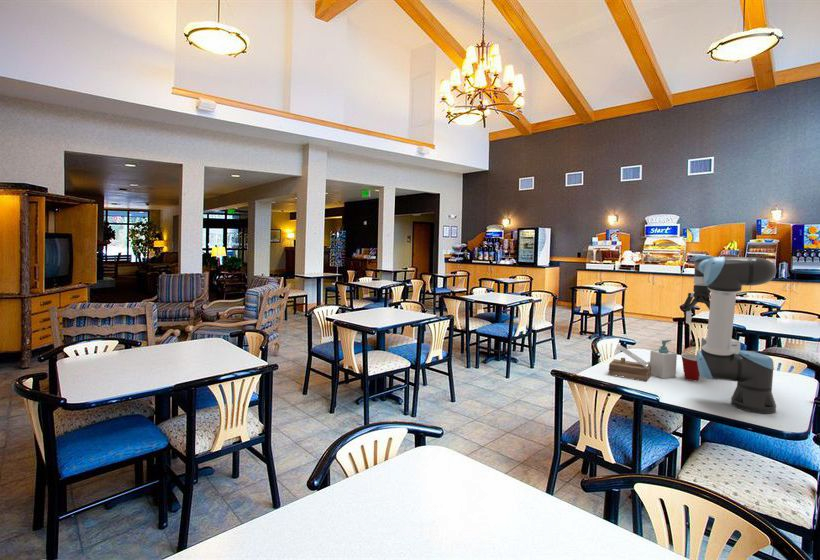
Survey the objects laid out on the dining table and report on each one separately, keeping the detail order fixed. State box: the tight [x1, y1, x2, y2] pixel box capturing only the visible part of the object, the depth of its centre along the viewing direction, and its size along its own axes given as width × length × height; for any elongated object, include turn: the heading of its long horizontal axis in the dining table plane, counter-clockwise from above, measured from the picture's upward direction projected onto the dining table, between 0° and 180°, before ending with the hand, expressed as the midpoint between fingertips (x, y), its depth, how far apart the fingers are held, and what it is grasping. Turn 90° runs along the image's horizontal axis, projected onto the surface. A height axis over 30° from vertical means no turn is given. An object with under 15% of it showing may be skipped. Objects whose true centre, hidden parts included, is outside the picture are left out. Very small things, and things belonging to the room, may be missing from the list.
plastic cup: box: [680, 353, 701, 381], centre depth 223 cm, size 11×11×12 cm
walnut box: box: [608, 357, 652, 382], centre depth 230 cm, size 12×18×9 cm
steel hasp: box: [617, 344, 649, 366], centre depth 229 cm, size 6×17×1 cm
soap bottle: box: [649, 339, 678, 379], centre depth 229 cm, size 9×9×19 cm
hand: (700, 325), depth 227 cm, fingers open, 13 cm apart
